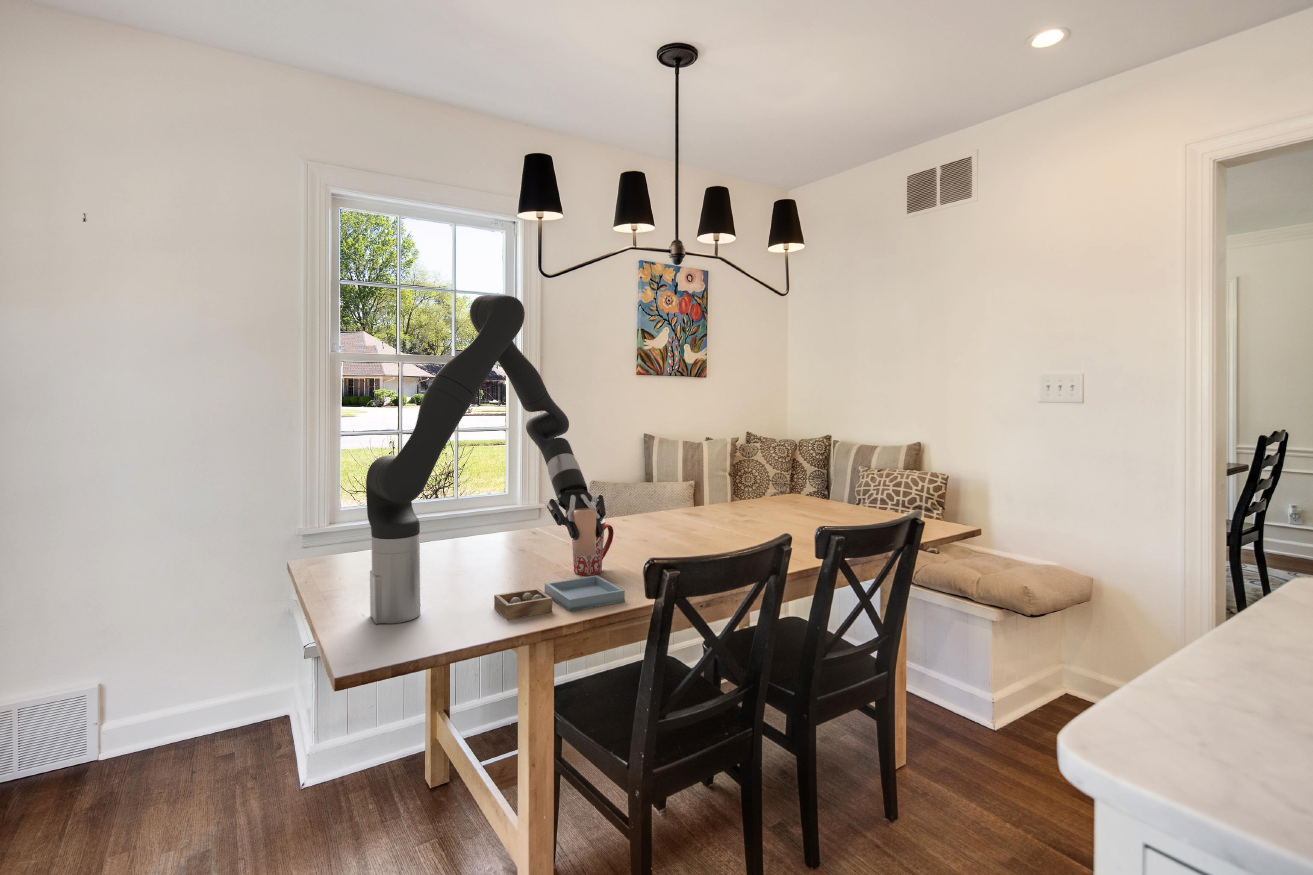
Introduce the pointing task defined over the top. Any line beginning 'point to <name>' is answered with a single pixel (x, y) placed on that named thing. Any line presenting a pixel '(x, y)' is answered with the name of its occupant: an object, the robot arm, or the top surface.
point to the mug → (594, 562)
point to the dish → (584, 593)
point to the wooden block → (585, 531)
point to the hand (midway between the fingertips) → (588, 536)
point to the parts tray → (522, 603)
